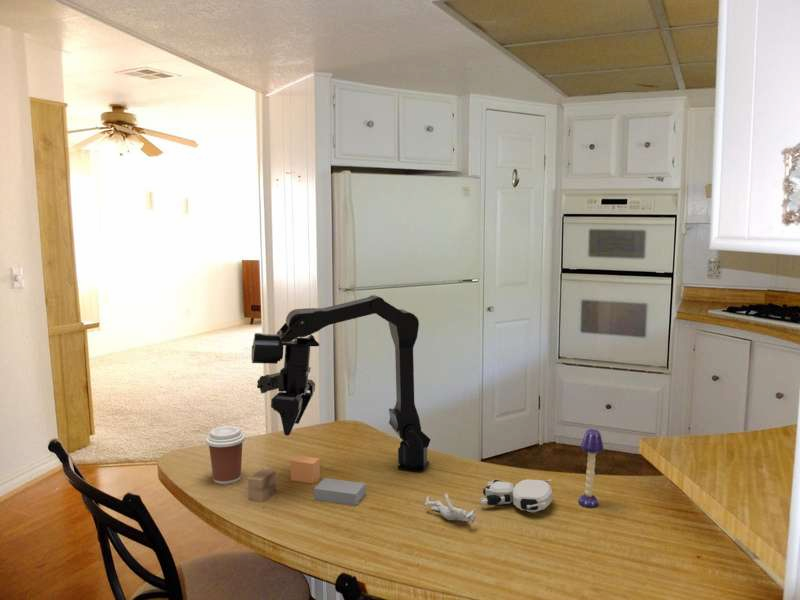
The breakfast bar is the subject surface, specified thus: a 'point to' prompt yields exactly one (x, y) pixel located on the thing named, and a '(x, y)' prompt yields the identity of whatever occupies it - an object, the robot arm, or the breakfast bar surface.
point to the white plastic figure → (451, 510)
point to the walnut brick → (262, 484)
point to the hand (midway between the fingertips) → (291, 429)
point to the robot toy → (519, 494)
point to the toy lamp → (590, 465)
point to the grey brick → (339, 491)
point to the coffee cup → (226, 453)
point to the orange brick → (305, 469)
